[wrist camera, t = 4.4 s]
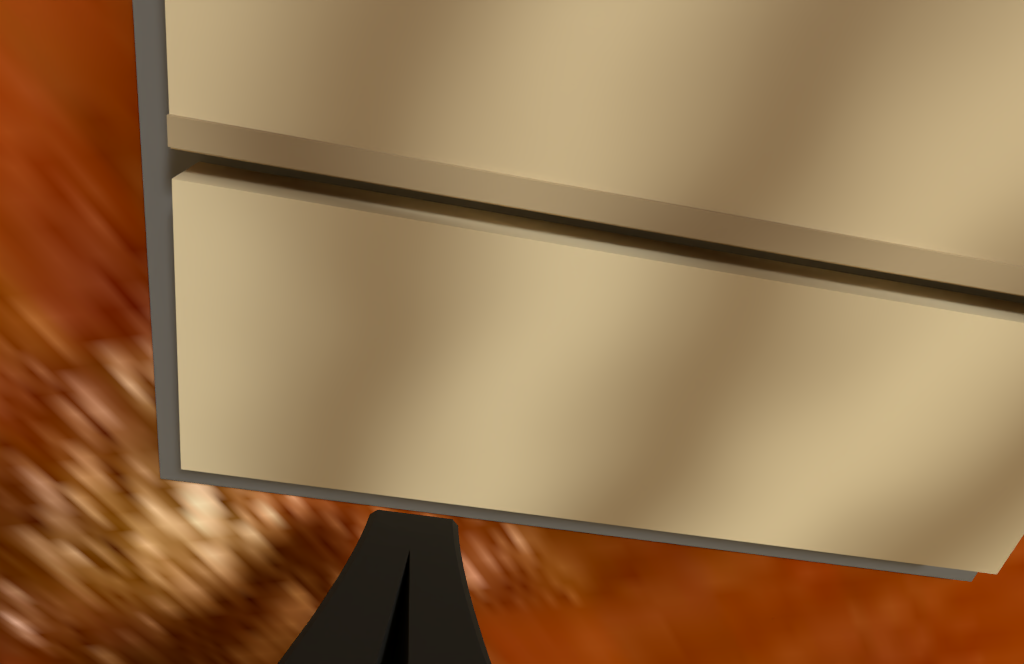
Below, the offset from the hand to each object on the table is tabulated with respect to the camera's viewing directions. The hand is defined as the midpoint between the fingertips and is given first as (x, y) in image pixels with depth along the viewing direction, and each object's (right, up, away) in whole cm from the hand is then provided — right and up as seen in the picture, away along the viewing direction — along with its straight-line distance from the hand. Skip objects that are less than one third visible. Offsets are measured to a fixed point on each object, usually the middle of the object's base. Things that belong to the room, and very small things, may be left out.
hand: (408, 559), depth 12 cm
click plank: (+4, +3, +3) cm, 6 cm away
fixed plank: (+6, +9, +1) cm, 10 cm away
